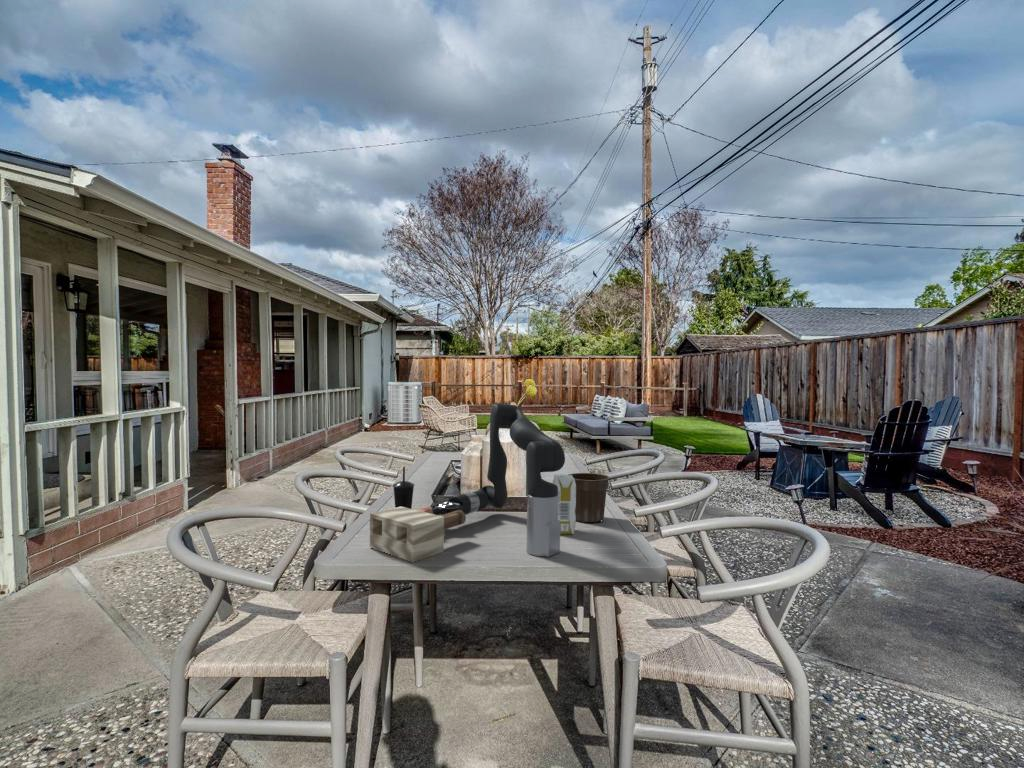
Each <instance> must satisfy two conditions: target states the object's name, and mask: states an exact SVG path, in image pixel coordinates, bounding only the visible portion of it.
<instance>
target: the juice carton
mask: <svg viewBox="0 0 1024 768" xmlns="http://www.w3.org/2000/svg"><path fill="white" fill-rule="evenodd" d="M552 483H553V484H555V485H557V487H558V517H557V520H560V535H565V534H573V535H574V534H575V530H576V521H577V520H576V483H575V479H574V478H573V477H572V475H568V474H554V475H553V480H552Z"/></svg>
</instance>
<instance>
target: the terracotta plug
mask: <svg viewBox="0 0 1024 768" xmlns="http://www.w3.org/2000/svg"><path fill="white" fill-rule="evenodd" d="M416 510H418V511H422V512H426V513H430V514H433V511H432V507H430V506H424V507H421V508H418V509H416Z"/></svg>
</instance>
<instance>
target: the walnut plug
mask: <svg viewBox="0 0 1024 768" xmlns="http://www.w3.org/2000/svg"><path fill="white" fill-rule="evenodd" d="M440 516H443V517H444V531H445V530H448V529H451V528H454V527H457V526H461V525H464V524H465V522H466V521H467V520H466V517H467V515H465V513H464V512H463V511H462V510H457V511H454V512H451V513H447V514H443V515H440Z"/></svg>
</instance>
